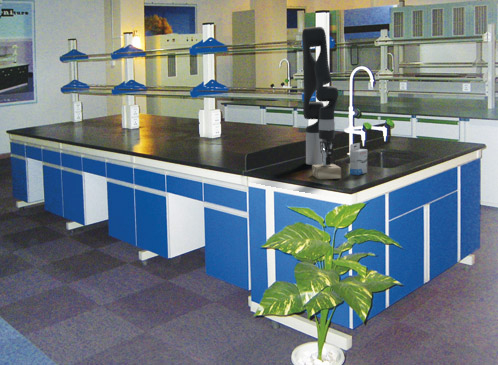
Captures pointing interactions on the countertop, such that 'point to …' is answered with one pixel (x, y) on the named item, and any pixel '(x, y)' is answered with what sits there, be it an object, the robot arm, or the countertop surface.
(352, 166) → the ink box
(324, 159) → the metal pin
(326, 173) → the hole block
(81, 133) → the countertop surface
